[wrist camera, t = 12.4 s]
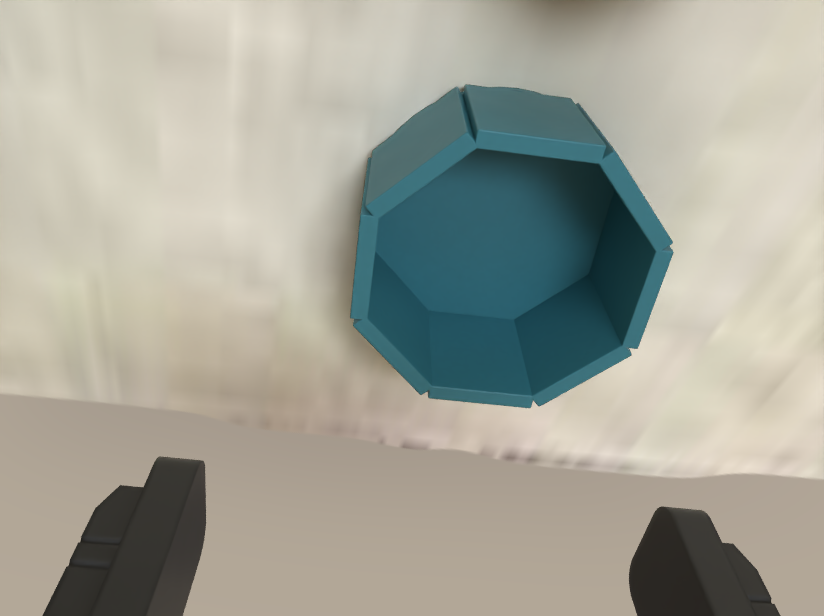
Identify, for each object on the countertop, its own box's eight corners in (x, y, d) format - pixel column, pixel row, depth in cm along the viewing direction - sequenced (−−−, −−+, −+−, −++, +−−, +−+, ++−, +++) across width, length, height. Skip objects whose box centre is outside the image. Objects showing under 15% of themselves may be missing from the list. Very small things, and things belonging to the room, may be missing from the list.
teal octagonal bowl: (353, 308, 40) (342, 390, 34) (377, 68, 33) (370, 115, 27) (580, 332, 41) (612, 417, 35) (651, 105, 34) (709, 158, 28)
